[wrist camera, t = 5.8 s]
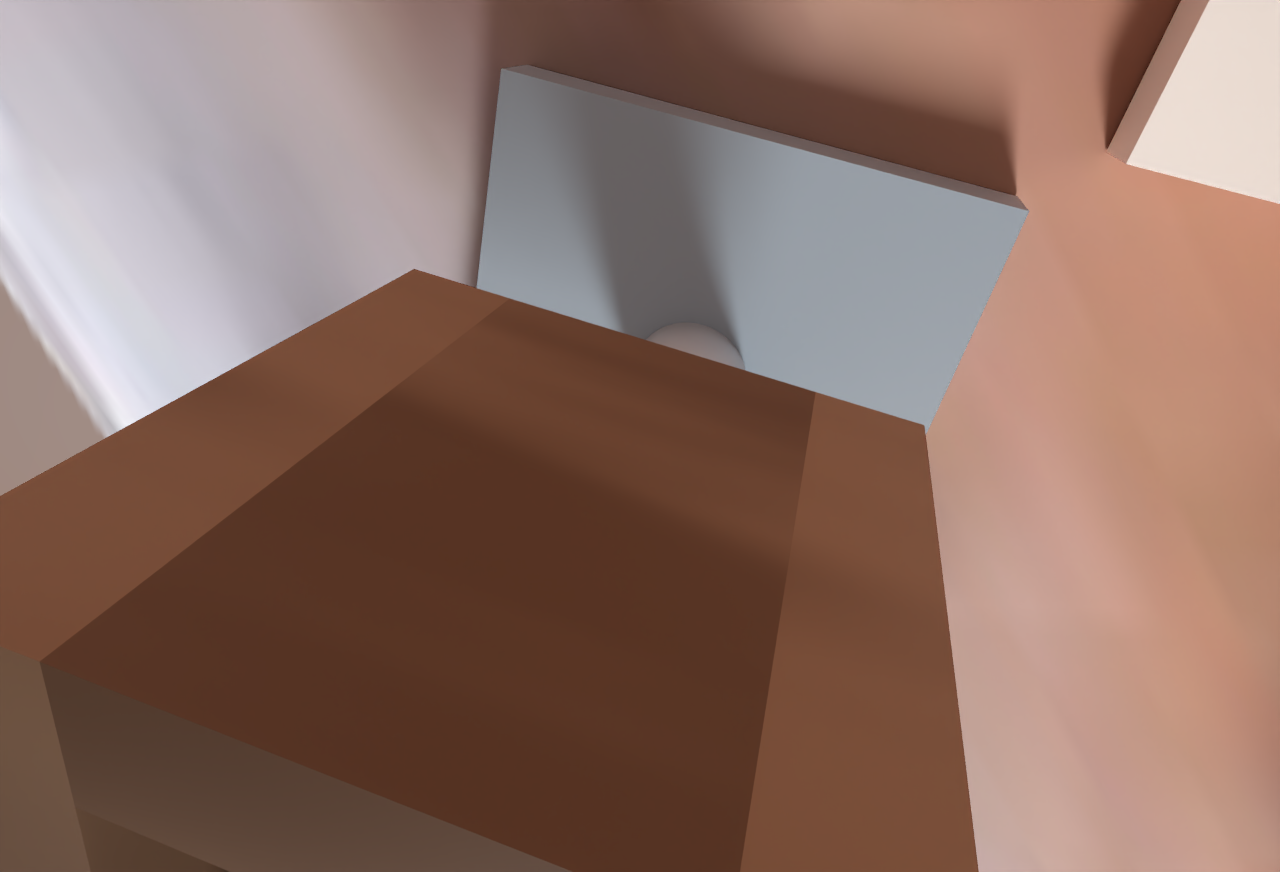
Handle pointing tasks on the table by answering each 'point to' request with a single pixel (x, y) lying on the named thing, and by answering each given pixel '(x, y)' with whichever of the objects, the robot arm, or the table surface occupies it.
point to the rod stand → (1211, 99)
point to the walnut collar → (481, 616)
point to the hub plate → (739, 241)
